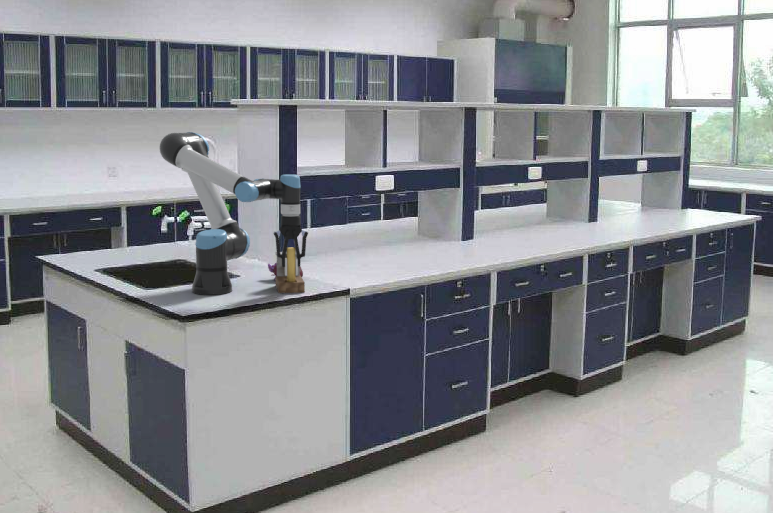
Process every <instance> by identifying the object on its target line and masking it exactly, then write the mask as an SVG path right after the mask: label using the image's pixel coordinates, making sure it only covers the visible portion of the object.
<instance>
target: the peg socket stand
mask: <svg viewBox="0 0 773 513" xmlns="http://www.w3.org/2000/svg"><path fill="white" fill-rule="evenodd" d="M301 252H302V251H300V254H301ZM274 253H275V256H276V262H277V276H276V279H275V287H276V290H277V292H278V294H294V293H295V294H296V293H299V294H300V293H305V285H306V284H305V280H304V279H303V276H302V277H301V275H300V267H298V275H296V282H287V276H285V267H282V258H279V257H278V256H277V251H275V252H274ZM280 254H282V251H280ZM285 258H287V251H286V256H285ZM295 258H297V255H296V251H295Z"/></svg>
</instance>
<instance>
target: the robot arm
mask: <svg viewBox="0 0 773 513" xmlns="http://www.w3.org/2000/svg"><path fill="white" fill-rule="evenodd" d="M209 151H210V145H209V143H208V140H207V139H206V137H205V136H204V135H202V134H200V133H197V132H192V131H188V132H172V133H168V134H166V135H165V136H163V138H162V139H161V141H160V142H159V153H160V156H161V157H162V158H163V159H164V161H166V162H168V163H169V164H170V165H173V166H174V167H176V168H178V169H181V171H183V172H185V173H187V175H188V176H189V179H190V182H191V184H192V186H193V189H194V191H195V193H196V195H197V198H198V200H199V202H200V205H201V206H202V209H203V211H204V214H205V216H206V218H207V220H208V223H209V225H210V229H205V230H202V231H199V232H198V233H197V234H196V236H195V258H196V259H195V260H196V262H195V264H196V265H195V267H196V272H195V276H194V280H193V282H192V285H191V286H192V288H191V289H192V290H191V291H192V293H193V294H196V295H202V296H203V295H204V296H205V295H206V296H214V295H215V296H216V295H217V296H218V295H224V294H229V293H231V292H232V291H233V284H232V281H231V279H230V276H229V273H228V272H229V271H228V261H230V260H231V261H232V260H236V259H237V260H238V259H239V258H241V257H243V256H245V255H246V254H247V253H248V251H249V248H250V245H251V239H250V236H249V234H248V232H247V231H246V229H245V230H244V229H243V228H241V227H240V226H239V223H238V221H237V220H234V219H233V218H232V217H231V215H230V213H229V210H228V208H227V206H226V204H225V200H224V199H223V196H222V195H221V192H220V189H219V187H220V188H221V189H224V190H226V191H228V192H230V193H232V194H233V195H235V197H236V198H237V200H238V201H239V202H242V203H253V202H256V201H262V200H271V199H272V200H280V214H281V216H280V228H279V230H277V231H273V235H274V237H275V247H276V248H275V249H276V252H277V256H278V257H279V258H282V267H285V276H287V258H285V256H286V252H287V248H288V242H289V240H293V242H294V248H295V252H296V255H297V258H295V266H296V275H298V267H300V266H301V259H302V258H303V257H304V258H305V256H306V249H307V248H306V247H307V238H308V235H309V232H308V231H307V230H304V229H303V228H302V227H301V224H302V223H301V221H302V220H301V218H302V217H301V188H302V187H301V186H302V185H301V178H300V175H298V174H282V175H280V177H279V178H280V179H275V178H274V179H272V178H271V179H270V178H254V180H251V179H249V178H248V177H245V176H244V175H242V174H240V173H238V172H236V171H234V170H233V169H230V168H229V167H226V166H224V165H223V164H221V163H219V162H217V161H215V160H214V159H213V160H212V159H211V158H209V154H210V153H209ZM281 235H282V236H283V237H284V239H283V245H282V246H283V247H282V251H281V245H280V244H281V243H280V236H281ZM300 235H301V236H302V238H301V239H302V241H301V251H300V247H299V241H298V238H299V236H300ZM280 252H282V254H280ZM300 252H301V254H300ZM277 256H276V257H277Z"/></svg>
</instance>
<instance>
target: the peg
mask: <svg viewBox="0 0 773 513" xmlns="http://www.w3.org/2000/svg"><path fill="white" fill-rule="evenodd" d="M286 252H287V282H296V266H295V252H296V249H295V247H287V250H286Z"/></svg>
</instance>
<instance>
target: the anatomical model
mask: <svg viewBox="0 0 773 513" xmlns="http://www.w3.org/2000/svg"><path fill="white" fill-rule="evenodd" d="M267 268H268V271H269V272H270V273H273V274H271V276H273V277H274V278H273V280H275V281H276V276H277V261H276V262H275V263H274V264H270V263H268V264H267ZM300 275H301V277H302V278H303V276H304V272H303V269H302V267H301V265H300Z"/></svg>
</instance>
